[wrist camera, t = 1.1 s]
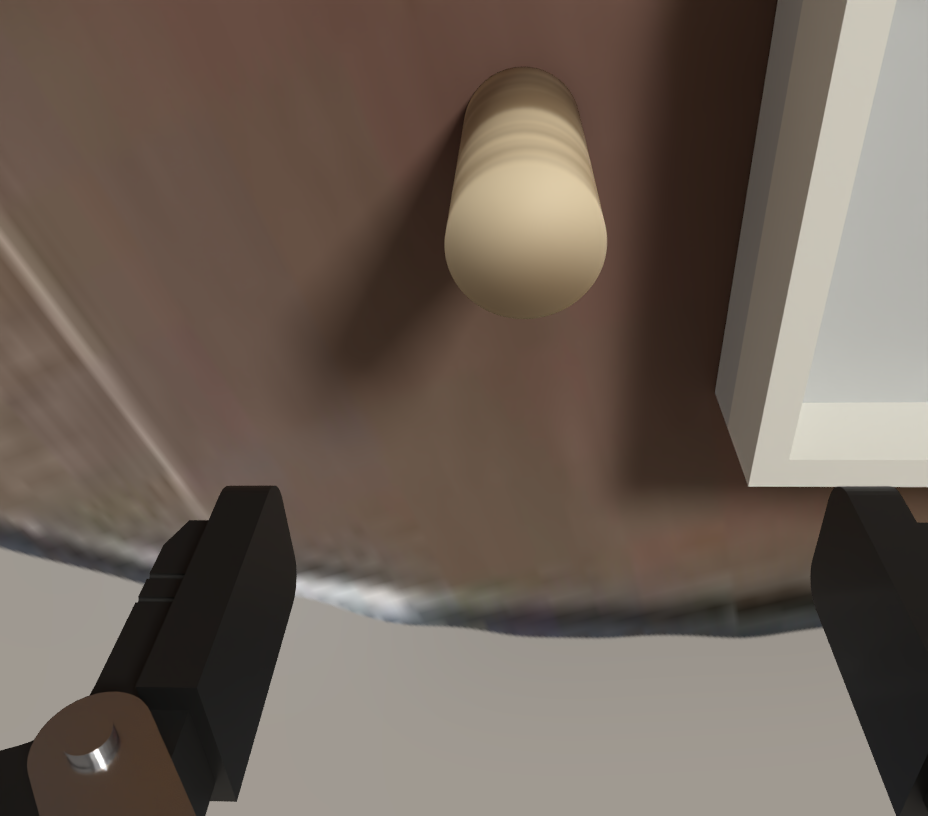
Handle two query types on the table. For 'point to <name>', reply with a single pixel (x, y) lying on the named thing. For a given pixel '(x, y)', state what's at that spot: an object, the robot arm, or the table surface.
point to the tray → (834, 255)
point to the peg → (524, 199)
